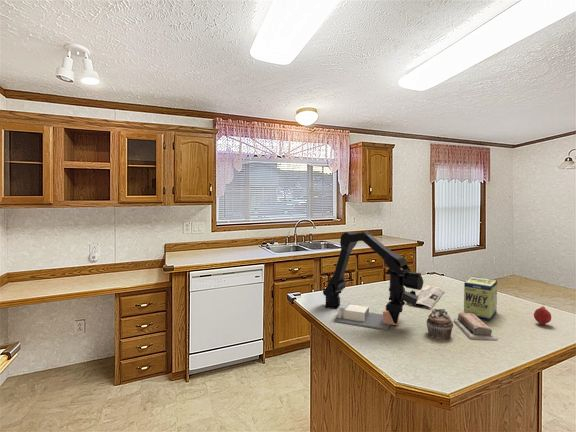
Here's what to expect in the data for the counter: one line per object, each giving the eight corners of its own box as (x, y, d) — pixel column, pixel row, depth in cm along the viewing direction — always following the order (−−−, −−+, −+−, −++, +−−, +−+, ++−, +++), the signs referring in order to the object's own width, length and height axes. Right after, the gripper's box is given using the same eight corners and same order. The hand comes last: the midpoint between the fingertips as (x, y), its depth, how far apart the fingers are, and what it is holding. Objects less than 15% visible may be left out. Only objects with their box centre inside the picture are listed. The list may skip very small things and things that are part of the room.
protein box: (463, 316, 145) (463, 282, 144) (472, 307, 156) (472, 276, 155) (490, 321, 138) (490, 286, 137) (497, 312, 149) (497, 279, 148)
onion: (546, 328, 130) (547, 309, 129) (530, 323, 135) (531, 305, 134) (553, 325, 133) (554, 306, 132) (537, 321, 138) (538, 303, 137)
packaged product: (453, 311, 139) (477, 312, 138) (452, 322, 139) (477, 323, 138) (470, 327, 121) (498, 329, 120) (469, 340, 122) (498, 341, 120)
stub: (382, 323, 136) (382, 311, 136) (384, 319, 141) (384, 308, 141) (397, 325, 134) (397, 313, 134) (399, 321, 138) (399, 309, 138)
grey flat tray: (334, 321, 140) (334, 309, 140) (344, 310, 155) (344, 298, 154) (388, 330, 130) (388, 317, 130) (393, 317, 145) (393, 305, 144)
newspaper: (430, 310, 153) (430, 303, 153) (404, 305, 161) (404, 299, 161) (445, 292, 182) (445, 286, 181) (422, 289, 189) (422, 283, 189)
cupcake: (422, 330, 131) (422, 306, 130) (446, 329, 130) (446, 306, 130) (432, 340, 121) (432, 314, 120) (457, 340, 121) (458, 314, 120)
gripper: (415, 293, 124) (414, 332, 125) (418, 282, 140) (418, 316, 141) (385, 290, 128) (385, 328, 129) (392, 279, 145) (392, 312, 146)
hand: (396, 321), depth 136 cm, fingers closed on stub, 5 cm apart
